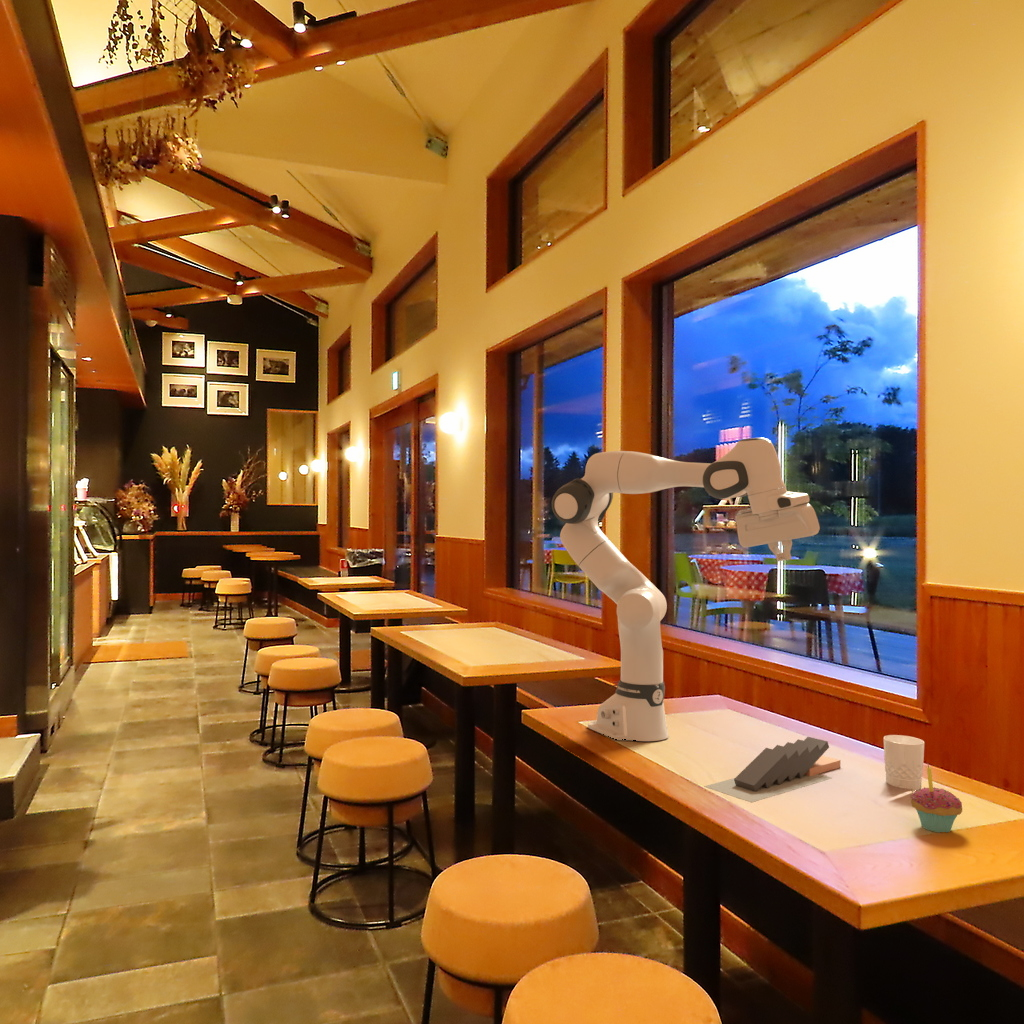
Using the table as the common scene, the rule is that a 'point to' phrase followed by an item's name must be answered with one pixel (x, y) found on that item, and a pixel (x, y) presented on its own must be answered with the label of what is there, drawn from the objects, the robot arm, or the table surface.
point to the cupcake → (936, 807)
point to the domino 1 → (760, 769)
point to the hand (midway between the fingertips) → (784, 560)
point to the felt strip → (762, 793)
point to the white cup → (904, 761)
